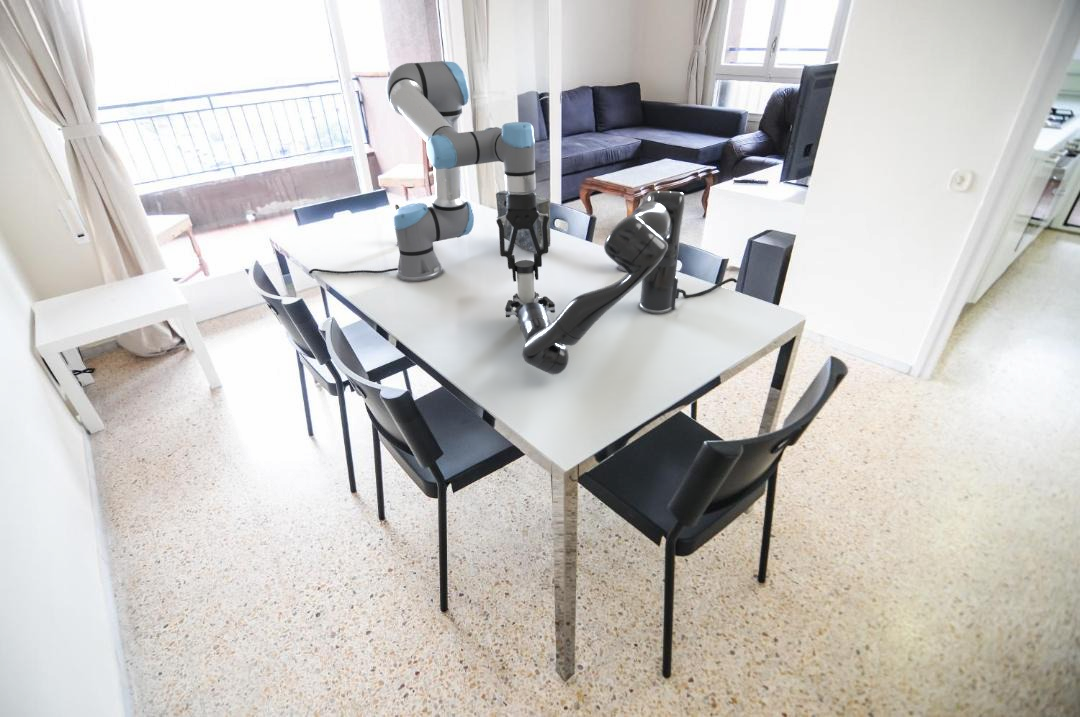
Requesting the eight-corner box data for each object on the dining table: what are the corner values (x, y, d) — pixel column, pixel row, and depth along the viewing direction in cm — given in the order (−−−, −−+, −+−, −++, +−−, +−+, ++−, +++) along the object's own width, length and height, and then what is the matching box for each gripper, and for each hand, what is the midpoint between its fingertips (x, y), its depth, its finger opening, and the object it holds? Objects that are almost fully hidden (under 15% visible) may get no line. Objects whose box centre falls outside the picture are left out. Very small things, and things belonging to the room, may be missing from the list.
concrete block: (555, 253, 189) (554, 199, 179) (537, 258, 185) (534, 204, 174) (517, 236, 208) (514, 187, 197) (499, 241, 203) (495, 191, 193)
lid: (535, 273, 132) (535, 266, 131) (515, 274, 132) (515, 267, 131) (534, 265, 137) (533, 259, 136) (514, 266, 136) (514, 260, 135)
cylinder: (520, 325, 140) (517, 269, 131) (519, 318, 144) (515, 263, 135) (536, 323, 141) (534, 268, 132) (534, 316, 144) (532, 262, 136)
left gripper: (555, 185, 127) (556, 271, 139) (483, 190, 126) (491, 276, 138) (559, 192, 121) (560, 281, 133) (484, 197, 119) (492, 286, 132)
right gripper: (561, 306, 126) (549, 280, 140) (505, 312, 124) (499, 285, 138) (562, 332, 130) (550, 305, 144) (507, 338, 128) (501, 310, 142)
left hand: (525, 278), depth 135 cm, fingers closed on lid, 5 cm apart
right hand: (525, 295), depth 141 cm, fingers closed on cylinder, 4 cm apart
